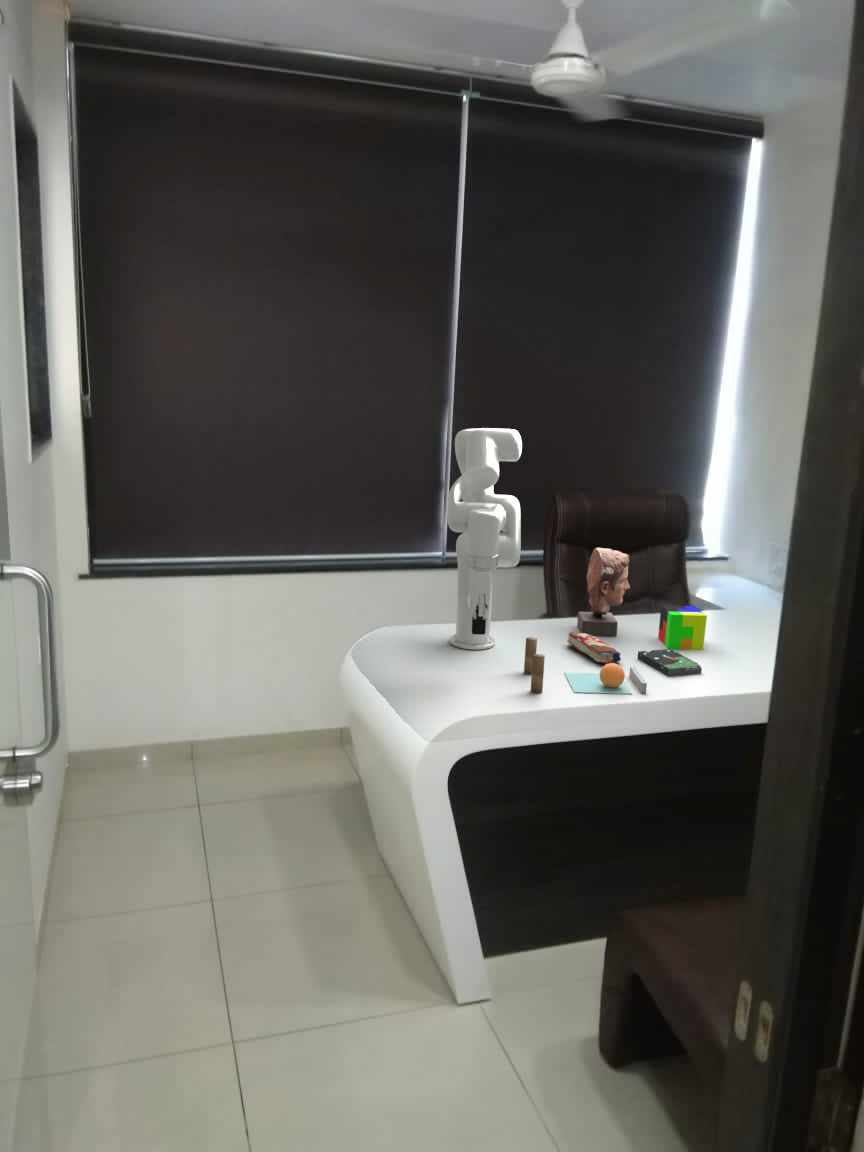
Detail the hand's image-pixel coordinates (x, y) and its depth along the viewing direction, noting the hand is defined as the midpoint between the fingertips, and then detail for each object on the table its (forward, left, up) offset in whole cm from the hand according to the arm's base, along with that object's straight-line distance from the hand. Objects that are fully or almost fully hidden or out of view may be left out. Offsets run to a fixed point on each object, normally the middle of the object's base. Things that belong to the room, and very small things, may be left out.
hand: (478, 633), depth 219 cm
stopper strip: (+1, +40, -12) cm, 42 cm away
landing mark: (+1, +30, -12) cm, 32 cm away
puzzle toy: (-34, +61, -12) cm, 71 cm away
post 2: (+8, +14, -12) cm, 20 cm away
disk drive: (-14, +52, -13) cm, 55 cm away
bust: (-44, +40, -12) cm, 61 cm away
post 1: (-6, +14, -12) cm, 19 cm away
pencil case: (-22, +33, -12) cm, 42 cm away
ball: (+3, +33, -9) cm, 34 cm away
